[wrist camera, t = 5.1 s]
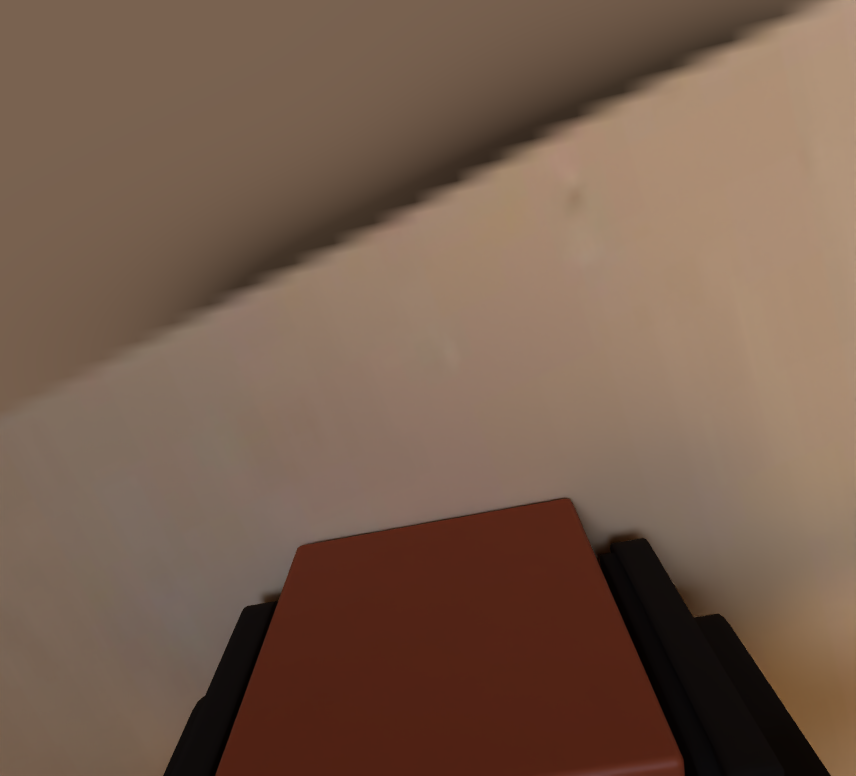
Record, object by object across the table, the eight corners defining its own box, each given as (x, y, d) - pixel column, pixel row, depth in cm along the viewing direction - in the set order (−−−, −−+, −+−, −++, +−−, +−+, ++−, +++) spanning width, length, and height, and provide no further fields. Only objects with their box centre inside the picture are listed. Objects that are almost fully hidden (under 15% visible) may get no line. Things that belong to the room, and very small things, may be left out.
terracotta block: (362, 743, 11) (320, 1093, 7) (296, 544, 10) (189, 832, 5) (601, 707, 11) (712, 1051, 7) (570, 494, 9) (686, 761, 5)
